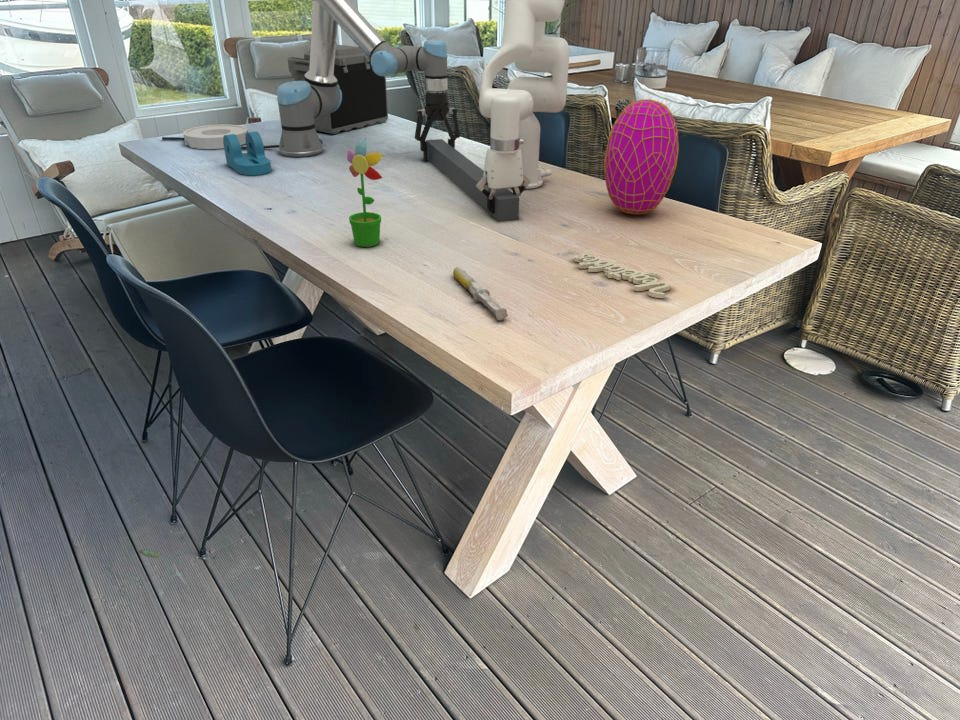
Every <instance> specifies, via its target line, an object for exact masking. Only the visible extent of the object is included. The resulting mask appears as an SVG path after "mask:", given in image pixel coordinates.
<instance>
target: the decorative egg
mask: <svg viewBox="0 0 960 720" xmlns="http://www.w3.org/2000/svg"><path fill="white" fill-rule="evenodd" d="M671 111H672V110H670V108H669V107H668V106H667V105H666V104H664V103H662V102H660V101H658V100H654V99H649V98H647V99H639V100H636V101H633V102H630V103H629V104H628V105H626V106H625V107H624V108H623V109H622V111H621V112H620V114H619V115H618V117H617V118H616V120H615V121H614V123H613V125H612V127H611V130H610V133H609V136H608V140H607V144H606V148H605V153H604V161H603V170H604V171H603V172H604V179H605V187H606V190H607V194H608V197H609V198H610V200H611V202H612V204H613V205H614V206H615V207H616V208H617V209H618V210H619V211H621V212H623V213H625V214H628V215H645V214H647V213H650V212H651V211H653V210H655V209H656V208H657V207H658V206H659V205H660V203H661V202H662V201H663V199H664V198H665V196H666V195H667V193H668V191H669V189H670V187H671V184H672V181H673V178H674V176H675V172H676V169H677V165H678V159H679V147H680V146H679V145H680V144H679V131H678V126H677V122H676V120H675V117H674V115H673V113H672V112H671Z"/></svg>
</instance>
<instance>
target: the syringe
mask: <svg viewBox="0 0 960 720" xmlns="http://www.w3.org/2000/svg"><path fill="white" fill-rule="evenodd" d="M452 274H453V277H454V279H455V280H457V281H458V282H459V283H460V285H462V287H464V289H466V290H467V291H468V293H470V295H471V296H472V298H473V300H474V302H477V303H478V302H480V303H482V304H483V305H484V306H485V307H486V308H487V309H488V310H489V311H490V312H491V313H492V314H493V315H494V316H495V317H496V320H497V321H503V320H504V319H506V318H507V317H509V314H508V310H507V308H506V307H502V306H501V305H500V303H498V302H497V301H496V300H494V299H493V298H492V297H491V296H490V295H491V293H490V290H488V289H486V288H483V287H482V286H481V285H480V284H479V283H478V282H477V281H476V280H474V278H473V277H471V275H469V274H468V273H467V272H466V270H465V269H464V268H463V267H462V266H456V267H454V268H453V271H452Z"/></svg>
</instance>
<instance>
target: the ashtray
mask: <svg viewBox="0 0 960 720" xmlns="http://www.w3.org/2000/svg"><path fill="white" fill-rule="evenodd" d="M247 132H249V129H248V127H246V126H244V125H240V124H227V123H226V124H225V123H223V124H207V125H200V126H194V127H190V128H188V129H186V130H184V131H183V132H182V133H183V138H184V140H183V141H184V144H185V146H186V147H189V148H191V149H199V150H219V149H220V150H221V149H224V144H223V137H224V135H230V134H235V135H236V136H237V138H238V140H239V142H240V146H244V145H246V139H245V137H246V133H247Z"/></svg>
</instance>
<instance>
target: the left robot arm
mask: <svg viewBox="0 0 960 720" xmlns="http://www.w3.org/2000/svg"><path fill="white" fill-rule="evenodd" d="M311 1H313V4H312V17H311V18H312V20H311V33H310V34H311V35H310V36H311V37H310V49H311V51H310V50H309V51H310V67H309V71H308V72H307V73H305V78H304V81H295V80H292V81H287V82H284V83H282V84H279V86H277V89H276V94H277V95H276V96H277V97H276V100H277V105H278V106H277V107H278V112H279V119H280V127H281V134H280V141H279V144H269V145H264V150H266V149H276V148H277V149H278V151H279V154H280V155H281V156H284V157H291V158H304V157H306V158H307V157H313V156H317V155H320V154H321V153H323V151H324V150H323V140H322V139H320V138H319V135H318V133H317V131H316V130H315V122H314V118H316V117H320V116H323V115H328V114H331V113H332V112H334V111H336V110H337V109H338V108H339V106H340V104H341V101H342V92H341V90H340V89H339V88H340V87H339V85H338V84H337V78H336V77H335V76H334V64H335V52H336V45H337V40H338V39H337V38H338V26H339V27H340V28H341V29H342V30H343V31H344V33H345V34H346V35H347V36H348V37H349V38H350V39H351V40H352V41H353V42H354V43H355V45H356V46H357V47H360V49H361V50H362V51H363V52H364V53H365V54H366V55H367V56H368V57H369V58H370V59H371V66H372V69H373V71H374V72H375V73H376V74H377V75H379V76H385V77H392V76H394V75H398V74H402V73H406V72H409V71H411V72H413V71H414V72H424V90H425V91H426V92H425V93H424V96H425V107H424V108H423V109H419V108H418V109H416V116H417V117H416V118H417V119H416V125H415V132H414V139H415V140H416V141H418V142H419V147H420V148H419V149H420V151H421V152H422V154H423V155H422V156H423V161H424V162H425V163H426V162H428V161H429V160H428V155H427V142H426V140H427V137H428V135H429V132H430V130H431V127H432V125H433V122H436V121H442V124H443V125H444V128H445V130H446V132H447V134H448V137H449V138H448V139H447V143H448V144H449V145H450V146H452V147H453V148H454V149H456V140H457V139H460V138H461V134H460V129H459V123H458V118H457V113H458V109H457V108H456V107H454V106H453V107H450V106H449V93H448V89H449V87H448V84H449V83H448V57H449V56H448V46H447V42H446V41H444V40H441V39H439V40H438V39H435V40H434V39H429V40H425V41H424V42H423V46H417V45H416V46H415V45H406V44H400V45H397V44H396V45H394V46H393V47H392V46H391V45H390V44H389V43H388V42H387V41H386V40H385V39H384V37H383V36H382V35H381V34H380V33H379V32H378V30H376V28H374V26H373V25H372V24H371V23H370V22H369V21H368V20H367V19H366V18H365V16H363V14H362V13H361V12H360V11H359V10H358V9H357V8H356V7H355V5H353V3H352V2H351V1H350V0H311ZM448 113H449V114H450V117H451V123H452V128H453V130H452V128H451V126H450V123H449V121H448V118H447V115H448ZM425 114H426V115H427V117H426V121H425V124H424V126H423V121H424V116H425ZM422 128H423V129H422ZM161 140H163V141H185V140H184V137H177V136H162V137H161ZM241 150H247V147H246V146H241Z"/></svg>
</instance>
